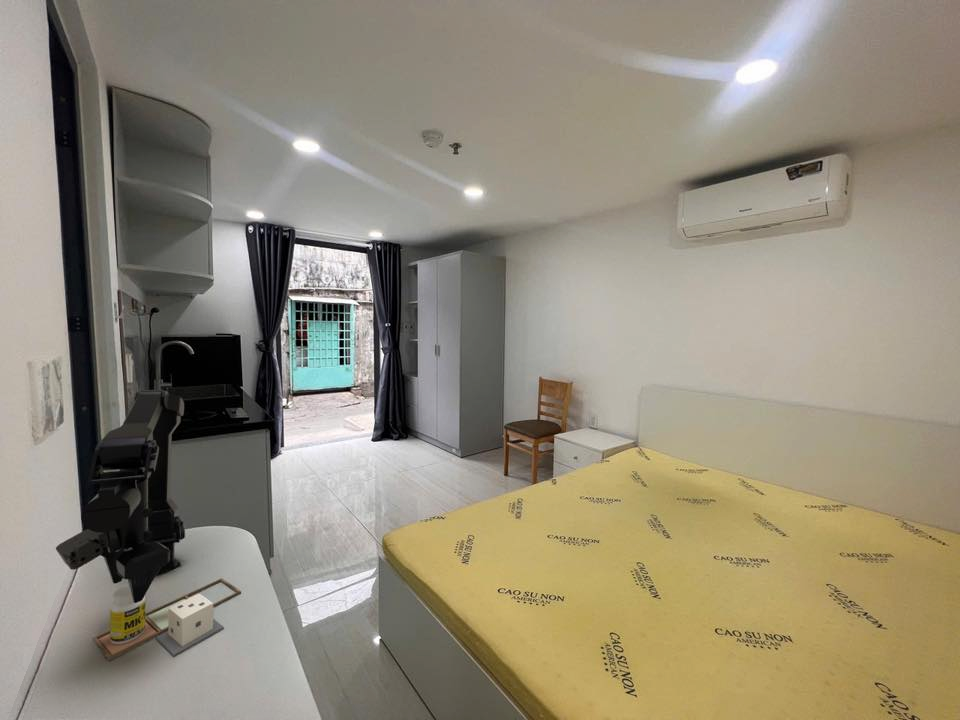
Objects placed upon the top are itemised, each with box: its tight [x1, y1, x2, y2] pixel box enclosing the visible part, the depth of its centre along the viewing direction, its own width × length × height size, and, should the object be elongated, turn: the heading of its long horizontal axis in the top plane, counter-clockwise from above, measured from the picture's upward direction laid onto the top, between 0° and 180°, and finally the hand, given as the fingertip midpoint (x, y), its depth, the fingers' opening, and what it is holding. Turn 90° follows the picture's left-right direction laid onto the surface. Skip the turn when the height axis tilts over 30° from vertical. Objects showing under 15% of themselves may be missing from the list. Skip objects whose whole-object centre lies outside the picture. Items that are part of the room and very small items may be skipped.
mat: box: [155, 618, 225, 658], centre depth 74 cm, size 7×8×1 cm
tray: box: [92, 578, 242, 662], centre depth 78 cm, size 8×21×1 cm, turn 149°
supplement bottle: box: [109, 584, 147, 644], centre depth 72 cm, size 5×5×8 cm
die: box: [169, 593, 214, 646], centre depth 74 cm, size 5×5×5 cm
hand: (127, 591), depth 71 cm, fingers open, 9 cm apart
